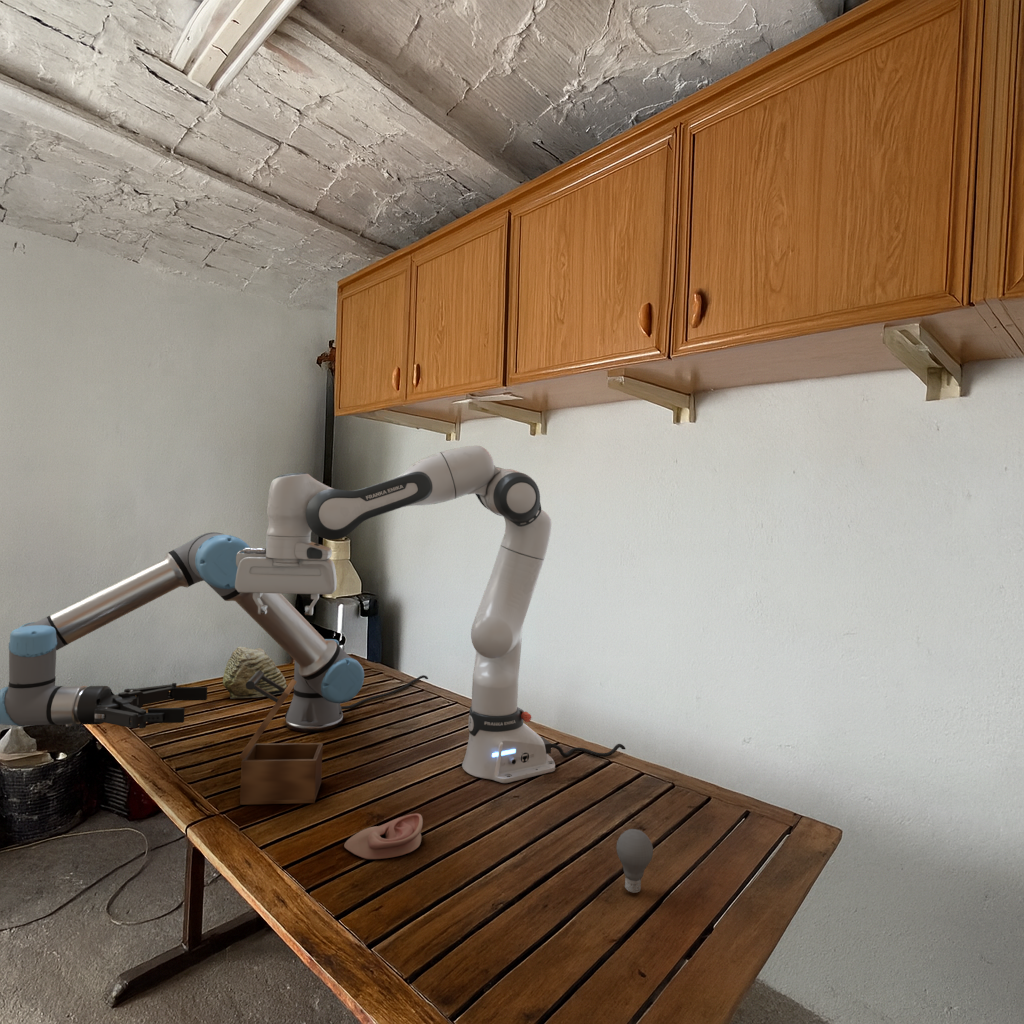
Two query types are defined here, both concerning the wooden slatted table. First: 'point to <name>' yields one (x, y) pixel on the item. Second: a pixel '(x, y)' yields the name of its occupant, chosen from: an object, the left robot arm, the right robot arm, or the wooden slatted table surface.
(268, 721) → the lid
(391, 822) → the anatomical model
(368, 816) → the wooden slatted table surface
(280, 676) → the fossil
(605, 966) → the wooden slatted table surface
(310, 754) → the chest
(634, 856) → the light bulb
